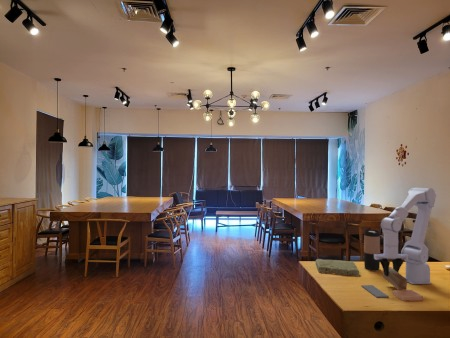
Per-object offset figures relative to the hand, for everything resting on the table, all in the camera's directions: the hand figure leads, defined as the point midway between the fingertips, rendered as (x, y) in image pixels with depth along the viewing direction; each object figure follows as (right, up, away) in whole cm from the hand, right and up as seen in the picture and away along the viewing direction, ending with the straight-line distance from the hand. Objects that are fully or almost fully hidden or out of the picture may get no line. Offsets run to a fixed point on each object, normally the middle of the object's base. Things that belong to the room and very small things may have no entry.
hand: (390, 275), depth 144 cm
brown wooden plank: (0, -2, -3) cm, 3 cm away
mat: (-10, -5, -6) cm, 13 cm away
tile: (0, -4, -8) cm, 9 cm away
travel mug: (+4, -5, +27) cm, 27 cm away
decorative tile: (-15, -6, +25) cm, 30 cm away
